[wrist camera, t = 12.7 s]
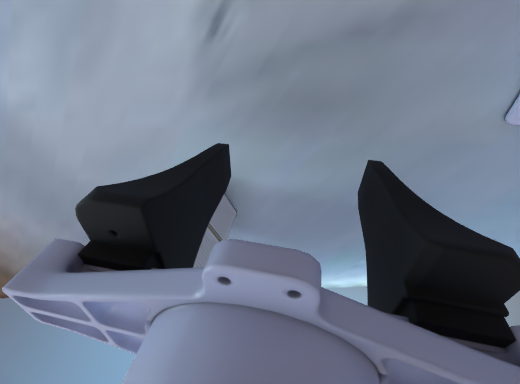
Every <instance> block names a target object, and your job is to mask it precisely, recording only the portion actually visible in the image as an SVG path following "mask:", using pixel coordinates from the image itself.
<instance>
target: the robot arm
mask: <svg viewBox="0 0 520 384" xmlns="http://www.w3.org/2000/svg"><path fill="white" fill-rule="evenodd" d="M505 120H506V122H508V123H509V124H511V125H520V95H519V96H518V98H517V100H516V101H515V103H514V104H513V106H512V108H511V109H510V111H509V112H508V114H507V115H506V118H505ZM230 178H231V167H230V154H229V144H220V143H218V144H215V145H213V146H212V147H210V148H208V149H207V150H205V151H203V152H201V153H200V154H198V155H196V156H195V157H193V158H191V159H189V160H187V161H185V162H183V163H181V164H179V165H177V166H175V167H173V168H170V169H168V170H165V171H163V172H160V173H157V174H154V175H151V176H148V177H145V178H141V179H137V180H133V181H128V182H123V183H118V184H111V185H105V186H97V187H96V188H95V189H94V190H93V191H91V192H90V193H89V194H88V195H87V196H86V197H85V198H84V199H82V200H81V201H80V202H79V203H78V204H77V206H76V208H75V210H76V216H77V218H78V221H79V222H80V224H81V226H82V227H83V229H84V231H85V232H86V234H87V235H88V237H89V239H90V240H91V241H90V242H89V243H88V244H87V245H86V246H84V245H82V244H81V243H78V242H74V241H69V240H63V239H54V240H53V241H52V242H51V243H50V244H49V245H48V246H47V247H46V248H45V249H44V250H42V251H41V252H40V253H39V254H38V255H37V256H36V257H35V258H34V259H33V260H32V261H31V262H30V263H29V264H27V265H26V266H25V267H24V268H23V269H22V270H21V271H20V272H19V273H18V274H17V275H16V276H15V277H14V278H13V279H11V280H10V281H9V282H8V283H7V284H6V285H5V286H4V287H3V288H2V291H3V292H4V293H5V294H6V295H8V296H9V297H10V298H11V299H12V300H13V301H15V302H16V303H17V304H18V305H20V307H21V308H23V309H24V310H25V311H26V312H27V313H28V314H30V315H31V316H32V317H33V318H34V319H35V320H36V321H38V322H40V323H44V324H48V325H51V326H55V327H59V328H62V329H66V330H69V331H72V332H75V333H78V334H81V335H84V336H87V337H90V338H93V339H96V340H98V341H101V342H104V343H106V344H109V345H112V346H115V347H118V348H120V349H123V350H126V351H129V352H131V353H134V354H136V356H135V358H134V360H133V362H132V364H131V365H130V367H129V369H128V371H127V373H126V375H125V377H124V379H123V381H122V383H121V384H520V326H511V327H509V325H508V323H507V322H506V320H505V318H504V317H507V316H508V315H509V312H508V310H507V308H506V307H505V305H504V303H505V302H506V301H508V300H509V299H510V298H511V297H512V296H514V295H515V294H516V293H517V292H518V291H520V258H519V257H518V255H517V254H516V252H515V251H514V249H513V248H511V247H509V246H506V245H504V244H502V243H499V242H497V241H495V240H492V239H490V238H487V237H485V236H483V235H481V234H479V233H477V232H475V231H473V230H471V229H469V228H467V227H465V226H463V225H461V224H459V223H457V222H456V221H454V220H452V219H451V218H449V217H447V216H445V215H444V214H442V213H441V212H439V211H438V210H436V209H435V208H433V207H432V206H430V205H429V204H428V203H426V202H425V201H423V200H422V199H421V198H420V197H418V196H417V195H416V194H415V193H414V192H413V191H411V190H410V189H409V188H408V187H407V186H406V185H405V184H404V183H403V182H402V181H401V180H400V179H399V178H398V177H397V176H396V175H395V174H394V173H393V172H392V171H391V170H390V169H389V168H388V167H387V166H386V165H385V164H384V163H383V162H381V161H373V160H368V163H367V166H366V169H365V172H364V175H363V178H362V181H361V184H360V188H359V191H358V209H359V215H360V221H361V226H362V231H363V237H364V242H365V249H366V263H367V288H368V289H367V290H368V306H367V305H364V304H362V303H359V302H357V301H355V300H352V299H350V298H347V297H345V296H342V295H340V294H337V293H335V292H332V291H330V290H327V289H325V288H323V287H321V267H320V263H319V262H318V261H317V260H316V259H315V258H314V257H313V256H311V255H310V254H308V253H305V252H302V251H299V250H296V249H290V248H284V247H278V246H272V245H266V244H261V243H255V242H249V241H243V240H237V239H236V240H222V241H220V242H218V243H216V244H215V245H214V246H213V249H212V251H211V253H210V256H209V258H208V260H207V262H206V265H205V267H200V268H193V266H194V263H195V260H196V257H197V254H198V251H199V248H200V245H201V243H202V240H203V237H204V235H205V232H206V229H207V227H208V224H209V222H210V220H211V218H212V216H213V214H214V212H215V211H216V209H217V207H218V205H219V203H220V201H221V199H222V197H223V195H224V193H225V191H226V189H227V186H228V184H229V181H230Z"/></svg>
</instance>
